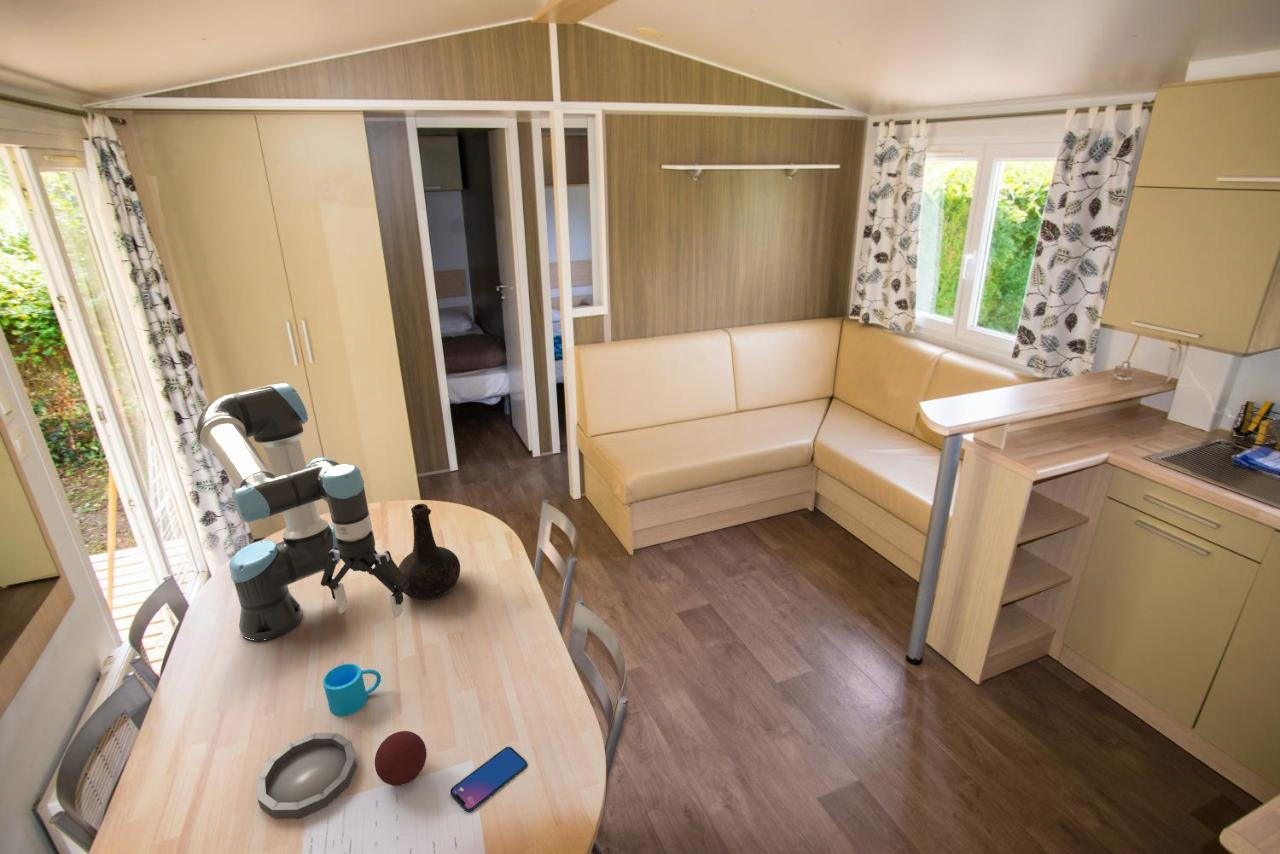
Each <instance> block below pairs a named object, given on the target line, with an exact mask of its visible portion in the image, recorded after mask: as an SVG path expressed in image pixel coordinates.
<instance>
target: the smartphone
mask: <svg viewBox="0 0 1280 854" xmlns="http://www.w3.org/2000/svg"><path fill="white" fill-rule="evenodd" d="M527 767H528V762H527V760H526V759H525V758H523V757H522V755H520V754H519V753H518V752H517V751H516V750H515V749H514V748H513V747H511V746H506V747H504V748H503V749H501V750H500V751H499V752H497V753H496V754H495V755H493V756H492V757H491V758H489V759H488V760H486V761H485V762H484V763H483V764H481V765H480V766H479V767H477V768H476V769H475V770H473V771H472V772H471V773H469V774H468V775H467V776H465V777H464V778H463V779H461V780H460V781H459V782H457V783H456V784H455V785H453V786H452V787H451V788H450V791H449V793H450V797H452V798H453V800H454V801H456V803H457V804H458V805H459V806H460V807H461V808H462V809H463V811H464V812H466V813H468V814H469V813H472V812H474V811H475V810H476V809H477V808H479V807H480V806H481V805H483V804H484V803H485V802H486V801H487V800H489V798H491V797H493V796H494V795H496V793H498V791H500V790H501V789H502V788H504V787H505V786H506V785H507V784H508V783H510V782H511V781H512V780H513V779H514V778H516V777H517V776H518V775H519V774H520V773H521V772H523V771H524V770H525V769H526V768H527ZM516 775H517V776H516ZM510 780H511V781H510ZM505 784H506V785H505Z"/></svg>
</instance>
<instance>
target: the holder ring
mask: <svg viewBox="0 0 1280 854" xmlns="http://www.w3.org/2000/svg"><path fill="white" fill-rule="evenodd" d="M356 759H357V758H356V755H355V750H354V747H353V741H351V740H350V739H348V738H346V737H345V736H343V735H342V734H340V733H338V732H315V733H314V732H313V733H311V734H309V735H306V736H304V737H301V738H299V739H296V740H292V741H290V742H289V743H288V744H286V745H285V746H284V747H283V748H282V749H280V750H279V751H278V752H276V753H274V755H273V756H271V757H270V758H269V759H268V760H267V762H266V764H265V765H264V766H263V769H262V771H260V773H259V775H258V776H257V778H256V780H255V781H256V782H255V783H256V799H257V802H258V806H259V808H260V809H261V810H263V811H264V812H265V813H267V814H268V815H270V816H271V817H272V818H273V819H274V820H285V819H288V820H289V819H293V820H294V819H302V818H304V817H307V816H308V815H311V814H314V813H316V812H317V811H320V810H322V809H324V808H327V807H328V806H329V805H330V804H332V803H333V802H334V801H335V800H337V798H338V797H339V796H340V795H341V794H343V792H345V791H346V790H347V789H348V788H349V786H350V784H351V781H352V779H353V777H354V775H355V772H356V770H357V768H358V765H357V764H358V763H357V760H356Z"/></svg>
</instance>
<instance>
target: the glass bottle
mask: <svg viewBox="0 0 1280 854" xmlns="http://www.w3.org/2000/svg"><path fill="white" fill-rule="evenodd" d="M410 511H411V518H412V524H413V525H412V526H413V547H412V552H410V553H409V554H407V555H406V556H405V557H404V558H403V559H402V561H401V562H400V563H399V564H398V566H397V567H398V568H399V570H400V571H401V572H402V574H403V575H404V577H405V578H406V579H407V581H408V582H409V586H408V588H407V589H406V590H405V591H404V592H403V594H405V595H406V596H407V597H409V598H411V599H414V600H416V601H433V600H436V599H438V598H440V597H442V596H444V595H446V594H447V593H448V592H449V591H451V590H452V589H453V588H454V586H455V585H456V584H457V581H458V579H459V577H460V574H461V564H460V560H459V558H458V556H457V555H456V554H455V553H454V552H453V551H452V550H450V549H448V548H446V547H444V546H438V545H437V543H436V541H435V538H434V533H433V531H432V526H431V521H430V520H431V519H430V515H431V512H432V509H430V508H429V507H428V505H427V504H426V503H418V504H415V505H414V506H413V507H411V509H410Z"/></svg>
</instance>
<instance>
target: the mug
mask: <svg viewBox="0 0 1280 854" xmlns="http://www.w3.org/2000/svg"><path fill="white" fill-rule="evenodd" d="M365 674H366V675H368V674H371V675H373V676H375V677H376V680H375V682H374V684H373V685H372V686H371V687H370V688H368V689H366V685H365V681H364V677H363V675H365ZM381 681H382V675H381V673H380V672H379V671H378V670H375V669H371V668H368V669H367V668H366V669H365V668H364V669H362V668H361V667H360V666H359V665H358V664H356V663H350V662H349V663H343V664H339V665H337V666H335V667H332V668H331V669H329V671H327V673H326V674H325V675H324V677H323V681H322V685H323V688H324V693H325V696H326V700H327V704H328V708H329V711H330V713H331V714H332V715H333V716H335V717H340V718H341V717H347V716H352V715H353V714H355V713H357V712H359V711H360V710H361V709H362V708H364V706H365V705H366V703H367V701H368V695H369V694H371V693H373V692H375V691H376V689H377V688H379V685H380V683H381Z"/></svg>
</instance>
